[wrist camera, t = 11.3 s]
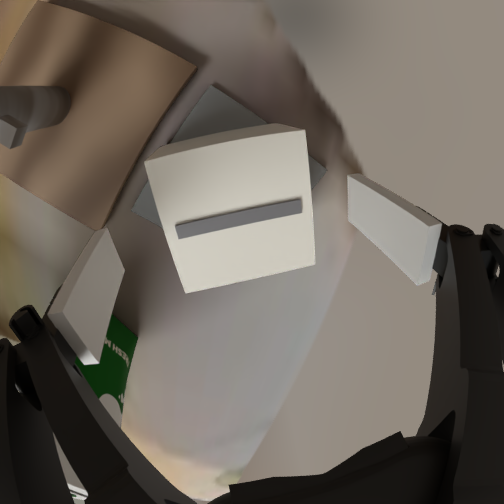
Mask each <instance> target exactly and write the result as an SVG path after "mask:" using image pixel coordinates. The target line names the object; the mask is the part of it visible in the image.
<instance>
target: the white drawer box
mask: <svg viewBox="0 0 504 504" xmlns="http://www.w3.org/2000/svg"><path fill="white" fill-rule="evenodd" d="M144 164H145V167H146V171H147V175H148V179H149V182H150V186H151V189H152V193H153V196H154V200H155V203H156V207H157V210H158V213H159V217H160V220H161V223H162V226H163V229H164V233H165V236H166V239H167V242H168V245H169V248H170V251H171V254H172V257H173V260H174V263H175V266H176V269H177V271H178V274H179V277H180V280H181V283H182V285H183V288H184V291H185V293H190V292H195V291H200V290H205V289H209V288H214V287H219V286H223V285H228V284H232V283H237V282H241V281H246V280H250V279H255V278H259V277H264V276H268V275H272V274H277V273H281V272H285V271H290V270H294V269H298V268H302V267H307V266H311V265H315V246H314V227H313V211H312V197H311V184H310V173H309V162H308V152H307V142H306V133H305V130H303V129H299V128H296V127H291V126H287V125H283V124H279V123H273V124H266V125H259V126H253V127H247V128H241V129H235V130H230V131H225V132H219V133H215V134H210V135H205V136H200V137H196V138H192V139H187V140H183V141H179V142H175V143H171V144H167V145H164V146H161V147H159V148H158V149H157V150H156V151H155V152H154V153H153V154H152V155H151V156H150V157H149V158H148V159H147V160H146V161H144Z"/></svg>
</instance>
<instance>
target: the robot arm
mask: <svg viewBox="0 0 504 504" xmlns="http://www.w3.org/2000/svg"><path fill="white" fill-rule="evenodd" d="M347 178H348V221H349V222H351V223H352V224H353V225H354V226H355V227H356V228H357V229H358V230H360V231H361V232H362V233H363V234H364V235H365V236H366V237H367V238H368V239H369V240H371V241H372V242H373V243H374V244H375V245H376V246H377V247H378V248H379V249H380V250H381V251H382V252H383V253H385V254H386V255H387V256H388V257H389V258H390V259H391V260H392V261H393V262H394V263H395V264H396V265H397V266H398V267H399V268H400V269H401V270H402V271H403V272H404V273H405V274H406V275H407V276H408V277H409V278H410V279H411V280H412V281H413V282H414V283H415V284H416V285H417V286H418V285H420V284H423V283H425V282H428V281H430V277H431V273H432V269H434V270H435V271H436V272H437V273H438V275H437V279H436V282H435V286H434V289H433V293H432V295H434V294H435V292H436V327H435V344H434V355H433V366H432V373H431V381H430V388H429V394H428V400H427V406H426V411H425V415H424V418H423V421H422V423H421V425H420V427H419V429H418V432H417V434H416V436H413V437H406V438H404V437H403V435H402V433H401V431H399V432H397V433H395V434H393V435H392V436H389V437H387V438H385V439H383V440H381V441H378V442H376V443H374V444H372V445H370V446H367V447H365V448H363V449H361V450H360V451H359V452H357V453H356V454H355V455H353V456H351V457H350V458H348V459H347V460H346V461H344V462H342V463H341V464H339V465H338V466H336V467H334V468H333V469H331V470H330V471H328V472H326V473H324V474H320V475H310V476H294V477H293V476H292V477H271V478H266V479H261V480H256V481H251V482H245V483H239V484H232V485H229V489H230V492H229V493H226V494H223V495H221V496H219V497H217V498H215V499H214V500H212V501H211V502H209V503H208V504H504V372H503V367H502V360H503V364H504V229H502V228H501V227H500V226H498V225H495V224H486V225H485V226H484V230H483V234H482V235H475V234H474V232H473V231H472V230H471V229H469V228H467V227H465V226H462V225H450V226H447V225H446V224H444V223H443V222H441V221H440V220H438V219H437V218H435V217H434V216H432V215H431V214H429V213H426V211H425V210H423V209H421V208H420V207H417V206H415V205H413V204H412V203H410V202H408V201H407V200H405V199H403V198H402V197H400V196H398V195H397V194H395V193H393V192H392V191H390V190H388V189H386V188H385V187H383V186H381V185H379V184H377V183H376V182H374V181H372V180H370V179H368V178H367V177H365V176H363V175H361V174H352V175H347ZM498 266H499V268H500V273H499V277H497V276H496V272H497V269H498ZM124 272H125V269H124V267H123V265H122V262H121V260H120V258H119V255H118V253H117V251H116V248H115V246H114V243H113V241H112V238H111V236H110V233H109V231H108V228H104V229H100V230H97V231H95V232H94V234H93V235H92V237H91V238H90V240H89V242H88V243H87V245H86V246H85V248H84V249H83V251H82V253H81V254H80V256H79V257H78V259H77V261H76V262H75V264H74V266H73V268H72V269H71V271H70V273H69V274H68V276H67V278H66V280H65V281H64V283H63V284H62V285H61V286H60V287H59V288H58V290H57V291H56V293H55V295H54V297H53V299H52V300H51V302H50V305H49V306H48V308H47V310H46V312H45V314H44V316H43V318H42V319H41V318H40V316H39V315H38V313H37V311H36V310H35V308H34V307H33V306H32V305H26V306H23V307H22V308H20V309H19V310H18V311H17V312H15V314H14V315H13V316H12V318H11V320H10V322H9V326H10V328H11V329H12V330H13V332H14V333H15V335H16V336H17V337H18V339H19V340H20V341H21V343H19V344H17V345H15V346H13V345H12V344H11V343H10V342H9V340H8V339H7V338H3V339H1V340H0V504H74V501H73V498H72V495H71V493H70V490H69V487H68V484H67V481H66V478H65V475H64V472H63V469H62V466H61V462H60V459H59V455H58V451H57V447H56V443H55V439H54V435H55V437H56V439H57V441H58V443H59V445H60V447H61V449H62V451H63V453H64V455H65V456H66V458H67V460H68V462H69V464H70V465H71V467H72V469H73V470H74V472H75V474H76V475H77V477H78V479H79V480H80V482H81V483H82V485H83V486H84V488H85V490H86V491H87V493H88V497H87V498H86V499H85V500H84V501H85V504H197V503H196V502H195V501H193V500H192V499H191V498H189V497H188V496H186V495H185V494H183V493H182V492H181V491H179V490H178V489H177V488H175V487H174V486H173V485H172V484H171V483H170V482H169V481H168V480H167V479H166V478H165V477H164V476H163V475H162V474H161V473H160V472H159V471H158V470H157V469H156V468H155V467H154V466H153V465H152V464H151V463H150V462H149V461H148V460H147V459H146V458H145V456H144V455H143V454H142V453H141V452H140V451H139V450H138V449H137V447H136V446H135V445H134V444H133V443H132V442H131V440H130V439H129V438H128V437H127V436H126V434H125V433H124V432H123V431H122V430H121V428H120V427H119V426H118V424H117V423H116V422H115V421H114V419H113V418H112V417H111V415H110V414H109V413H108V411H107V410H106V408H105V407H104V406H103V404H102V403H101V401H100V400H99V399H98V397H97V396H96V394H95V393H94V391H93V390H92V388H91V387H90V385H89V384H88V382H87V380H86V379H85V377H84V376H83V374H82V372H81V371H80V369H79V368H78V367H77V365H76V364H75V359H76V356H77V357H78V358H79V359H80V360H81V362H82V363H83V364H84V365H89V364H99V362H100V357H101V353H102V349H103V345H104V341H105V337H106V333H107V329H108V325H109V322H110V318H111V314H112V311H113V307H114V304H115V301H116V297H117V294H118V291H119V288H120V284H121V281H122V278H123V275H124ZM18 391H19V392H18ZM53 433H54V435H53Z"/></svg>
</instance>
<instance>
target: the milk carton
mask: <svg viewBox="0 0 504 504" xmlns="http://www.w3.org/2000/svg"><path fill="white" fill-rule="evenodd" d="M137 340H138V337H137V336H136V335H134V334H133V333H132V332H131V331H130V330H129V329H128V328H127V327H126V326H124V325H123V324H122V323H121V322H120V321H119V320H118V319H117V318H116V317H115V316H114V315H113V314H111V318H110V322H109V325H108V329H107V333H106V337H105V341H104V345H103V349H102V353H101V357H100V362H99V364H89V365H84V364H83V363H82V362H81V360H80V359H79V358H78V357H77V356H76V359H75V364H76V365H77V367H78V368H79V369H80V371H81V372H82V374H83V376H84V377H85V379H86V380H87V382H88V384H89V385H90V387H91V388H92V390H93V391H94V393H95V394H96V396H97V397H98V399H99V400H100V401H101V403H102V404H103V406H104V407H105V408H106V410H107V411H108V413H109V414H110V415H111V417H112V418H113V419H114V421H115V422H116V423H117V424H118V426H119V427H120V428H121V422H122V413H123V405H124V397H125V389H126V383H127V377H128V373H129V369H130V366H131V362H132V358H133V354H134V351H135V347H136V343H137ZM53 435H54V433H53ZM54 439H55V443H56V447H57V451H58V455H59V459H60V462H61V466H62V469H63V472H64V475H65V478H66V481H67V484H68V487H69V490H70V493H71V495H72V497H73V498H76V499H81V500H85V499H86V498H87V497H88V493H87V491H86V490H85V488H84V486H83V485H82V483H81V482H80V480H79V479H78V477H77V475H76V474H75V472H74V470H73V469H72V467H71V465H70V464H69V462H68V460H67V458H66V456H65V455H64V453H63V451H62V449H61V447H60V445H59V443H58V441H57V439H56V437H55V435H54Z"/></svg>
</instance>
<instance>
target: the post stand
mask: <svg viewBox="0 0 504 504" xmlns="http://www.w3.org/2000/svg"><path fill="white" fill-rule="evenodd" d="M196 71H197V66H195V65H193V64H191V63H190V62H188V61H186V60H184V59H183V58H181V57H179V56H177V55H175V54H173V53H172V52H170V51H168V50H166V49H164V48H162V47H160V46H158V45H156V44H154V43H152V42H150V41H148V40H146V39H144V38H142V37H140V36H137V35H135V34H133V33H131V32H129V31H126V30H124V29H122V28H119V27H117V26H115V25H112V24H110V23H107V22H105V21H102V20H100V19H97V18H94V17H92V16H89V15H86V14H83V13H80V12H77V11H74V10H71V9H68V8H65V7H62V6H58V5H55V4H51V3H47V2H44V1H40V0H38V1H37V2H36V3H35V5H34V6H33V8H32V9H31V11H30V12H29V14H28V15H27V17H26V18H25V20H24V22H23V23H22V25H21V27H20V28H19V30H18V32H17V33H16V35H15V37H14V39H13V40H12V42H11V44H10V46H9V48H8V50H7V52H6V54H5V56H4V58H3V60H2V62H1V64H0V173H1V174H3V175H4V176H6V177H7V178H9V179H10V180H12V181H13V182H15V183H16V184H18V185H19V186H21V187H23V188H24V189H26V190H27V191H29V192H31V193H32V194H34V195H35V196H37V197H39V198H40V199H42V200H43V201H45V202H47V203H48V204H50V205H52V206H53V207H55V208H57V209H58V210H60V211H62V212H64V213H65V214H67V215H69V216H70V217H72V218H74V219H76V220H77V221H79V222H81V223H82V224H84V225H86V226H88V227H90V228H91V229H93V230H95V231H97V230H100V229H103V227H104V226H105V224H106V222H107V219H108V217H109V215H110V213H111V211H112V209H113V207H114V204H115V202H116V200H117V198H118V196H119V194H120V192H121V190H122V188H123V186H124V184H125V182H126V180H127V179H128V177H129V175H130V173H131V171H132V169H133V167H134V166H135V164H136V162H137V160H138V158H139V157H140V155H141V153H142V151H143V150H144V148H145V146H146V145H147V143H148V141H149V140H150V138H151V136H152V135H153V133H154V131H155V130H156V128H157V127H158V125H159V123H160V122H161V120H162V119H163V117H164V116H165V114H166V113H167V111H168V110H169V108H170V107H171V105H172V104H173V102H174V101H175V99H176V98H177V97H178V95H179V94H180V92H181V91H182V90H183V88H184V87H185V85H186V84H187V83H188V81H189V80H190V79H191V77H192V76H193V75H194V73H195V72H196Z"/></svg>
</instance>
